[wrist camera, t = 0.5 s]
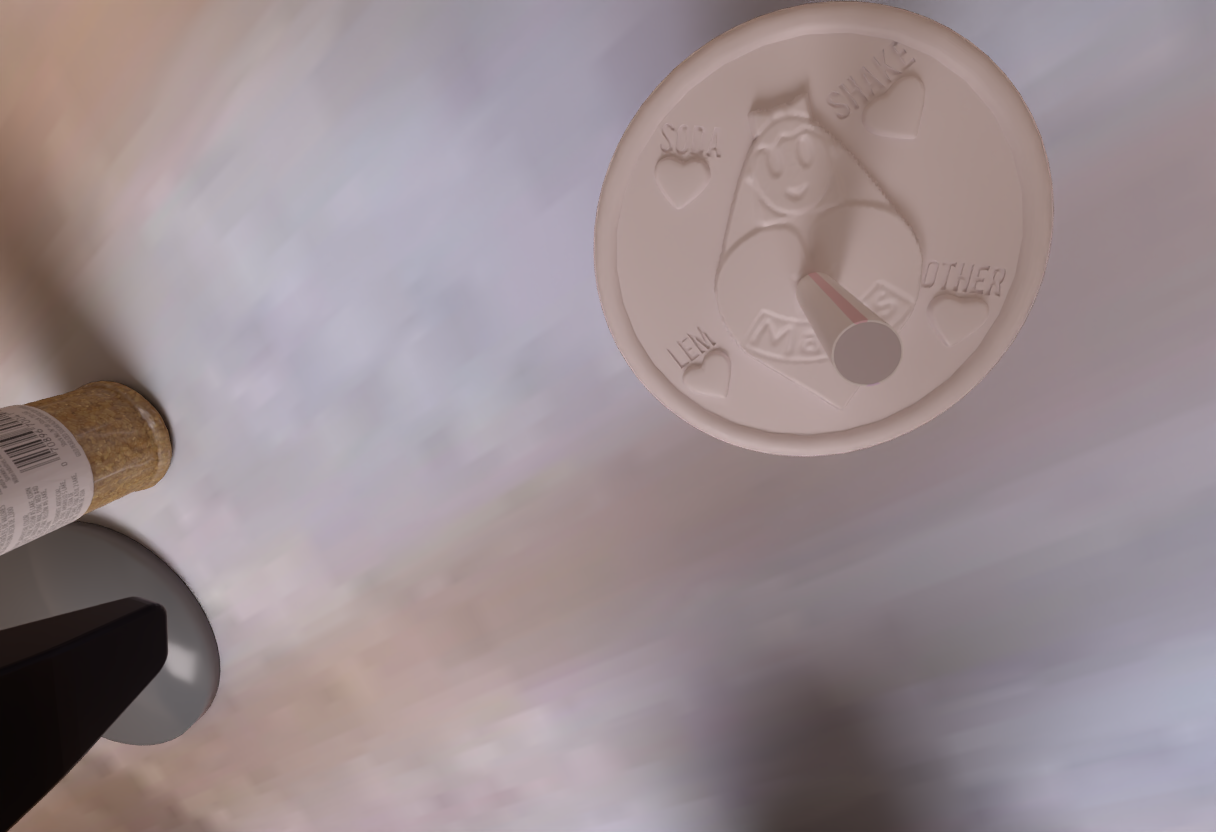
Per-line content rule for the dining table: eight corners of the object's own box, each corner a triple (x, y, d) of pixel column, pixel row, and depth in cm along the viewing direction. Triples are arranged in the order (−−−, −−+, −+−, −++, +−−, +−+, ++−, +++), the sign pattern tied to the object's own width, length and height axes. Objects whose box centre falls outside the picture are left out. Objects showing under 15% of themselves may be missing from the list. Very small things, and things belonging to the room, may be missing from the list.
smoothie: (694, 365, 20) (593, 668, 7) (638, 151, 18) (365, 5, 5) (917, 311, 18) (1364, 578, 5) (876, 69, 16) (1363, -461, 3)
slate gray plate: (251, 735, 29) (238, 749, 28) (64, 728, 32) (48, 741, 31) (168, 514, 26) (152, 523, 25) (-30, 527, 29) (-51, 535, 28)
